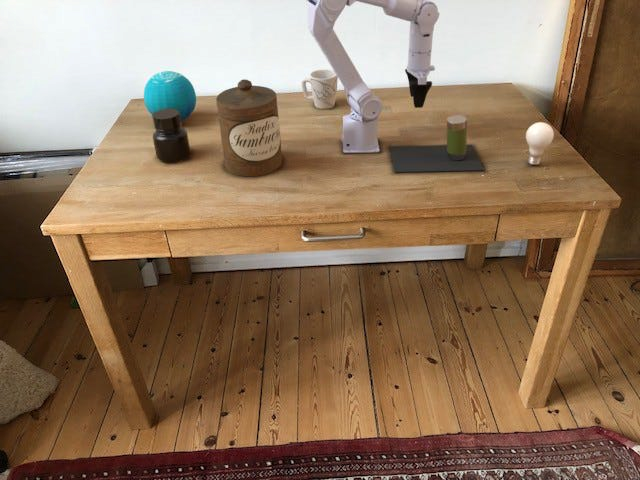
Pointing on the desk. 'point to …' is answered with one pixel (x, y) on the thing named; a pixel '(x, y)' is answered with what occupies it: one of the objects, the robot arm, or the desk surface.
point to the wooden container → (249, 129)
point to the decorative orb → (170, 93)
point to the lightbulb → (538, 140)
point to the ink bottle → (170, 136)
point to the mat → (432, 159)
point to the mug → (322, 88)
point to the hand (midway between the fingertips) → (416, 101)
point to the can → (456, 137)
